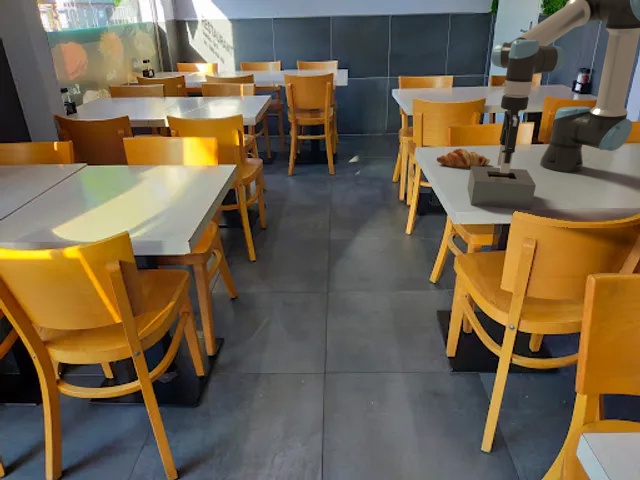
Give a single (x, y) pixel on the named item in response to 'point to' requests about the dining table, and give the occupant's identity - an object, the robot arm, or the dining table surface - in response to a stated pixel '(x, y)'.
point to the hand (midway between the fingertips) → (502, 168)
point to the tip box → (500, 188)
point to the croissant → (462, 159)
